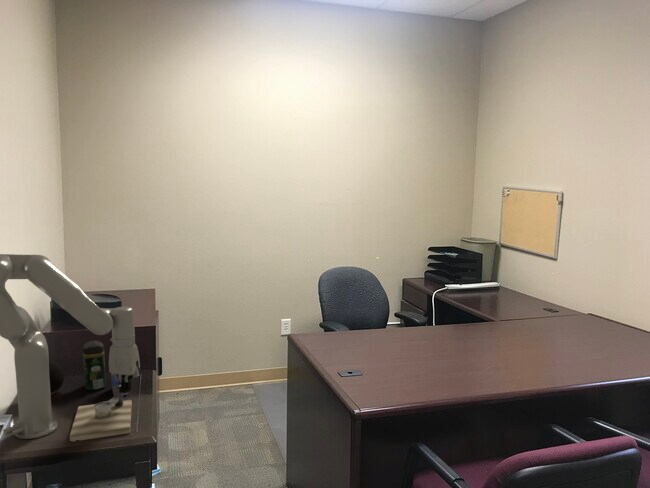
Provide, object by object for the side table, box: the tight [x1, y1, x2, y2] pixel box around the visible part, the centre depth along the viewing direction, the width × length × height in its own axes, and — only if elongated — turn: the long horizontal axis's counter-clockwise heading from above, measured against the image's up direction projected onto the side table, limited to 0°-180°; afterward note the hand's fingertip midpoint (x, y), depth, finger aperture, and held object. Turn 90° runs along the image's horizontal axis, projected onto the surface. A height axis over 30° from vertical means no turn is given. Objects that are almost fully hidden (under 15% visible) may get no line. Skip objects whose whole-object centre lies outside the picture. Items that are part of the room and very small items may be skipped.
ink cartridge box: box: [110, 373, 129, 396], centre depth 205 cm, size 10×6×14 cm, turn 27°
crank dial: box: [94, 384, 124, 419], centre depth 182 cm, size 13×5×7 cm, turn 167°
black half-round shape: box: [49, 360, 65, 405], centre depth 197 cm, size 13×13×15 cm
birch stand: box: [69, 399, 133, 442], centre depth 178 cm, size 24×18×2 cm
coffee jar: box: [82, 340, 107, 391], centre depth 210 cm, size 10×8×19 cm
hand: (126, 391), depth 186 cm, fingers closed
